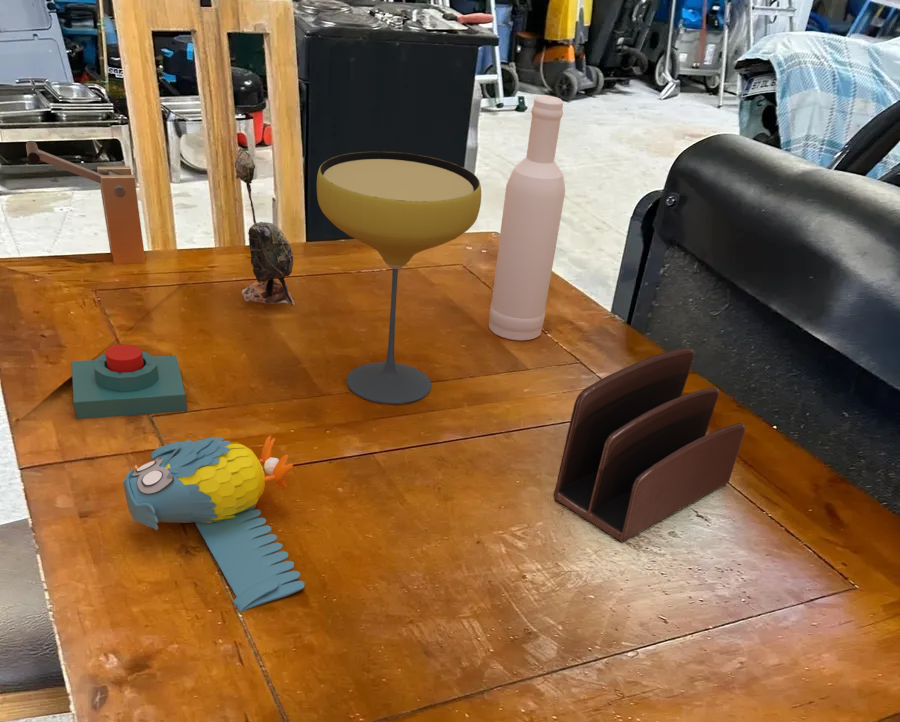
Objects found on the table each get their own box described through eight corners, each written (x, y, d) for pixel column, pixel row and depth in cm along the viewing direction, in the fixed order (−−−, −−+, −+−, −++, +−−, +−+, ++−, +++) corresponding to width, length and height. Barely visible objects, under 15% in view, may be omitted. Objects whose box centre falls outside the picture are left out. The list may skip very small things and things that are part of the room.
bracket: (89, 284, 127) (72, 182, 118) (84, 261, 133) (66, 162, 124) (176, 280, 131) (165, 181, 122) (166, 257, 137) (155, 161, 128)
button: (108, 375, 100) (105, 361, 99) (106, 359, 103) (104, 345, 102) (145, 373, 102) (143, 359, 100) (142, 357, 104) (140, 343, 103)
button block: (77, 419, 99) (70, 387, 97) (75, 377, 106) (68, 346, 104) (187, 411, 103) (183, 379, 100) (178, 371, 110) (174, 341, 107)
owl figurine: (341, 506, 77) (167, 551, 70) (341, 582, 82) (180, 630, 76) (231, 365, 94) (83, 391, 88) (238, 435, 100) (100, 465, 94)
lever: (25, 165, 116) (30, 146, 115) (23, 152, 120) (28, 135, 119) (127, 204, 123) (132, 187, 122) (122, 191, 127) (127, 175, 126)
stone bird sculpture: (255, 323, 122) (248, 169, 109) (230, 291, 129) (220, 143, 116) (311, 317, 125) (310, 166, 112) (283, 286, 133) (279, 141, 120)
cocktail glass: (486, 382, 115) (512, 179, 99) (405, 436, 103) (420, 214, 87) (375, 339, 122) (383, 141, 106) (287, 384, 110) (281, 170, 94)
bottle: (525, 346, 125) (563, 109, 105) (477, 330, 127) (506, 96, 108) (551, 329, 130) (591, 100, 111) (504, 313, 133) (535, 87, 113)
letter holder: (551, 499, 96) (575, 381, 87) (661, 446, 107) (692, 336, 98) (621, 545, 91) (655, 424, 82) (729, 484, 102) (769, 371, 93)
